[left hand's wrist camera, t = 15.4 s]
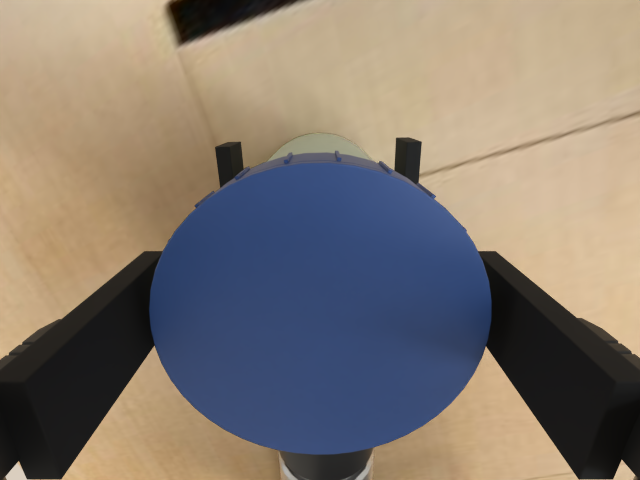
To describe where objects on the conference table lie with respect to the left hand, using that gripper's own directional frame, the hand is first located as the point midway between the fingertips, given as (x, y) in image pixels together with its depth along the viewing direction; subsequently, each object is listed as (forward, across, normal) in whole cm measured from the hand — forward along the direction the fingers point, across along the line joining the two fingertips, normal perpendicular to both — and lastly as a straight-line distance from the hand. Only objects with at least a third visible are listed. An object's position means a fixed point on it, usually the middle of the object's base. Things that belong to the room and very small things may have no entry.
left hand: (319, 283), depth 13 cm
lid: (-3, 0, 0) cm, 3 cm away
